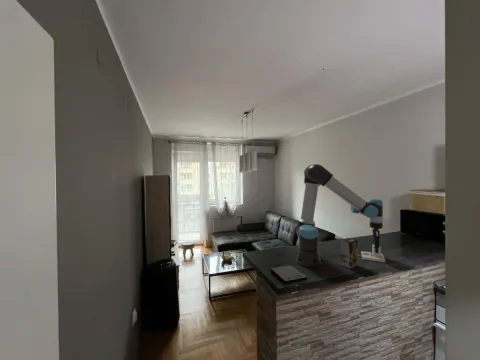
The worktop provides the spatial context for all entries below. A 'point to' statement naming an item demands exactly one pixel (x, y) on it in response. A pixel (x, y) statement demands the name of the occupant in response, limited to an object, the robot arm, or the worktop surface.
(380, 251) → the charger
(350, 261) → the coffee box
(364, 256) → the outlet plate
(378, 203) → the robot arm
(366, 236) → the worktop surface
